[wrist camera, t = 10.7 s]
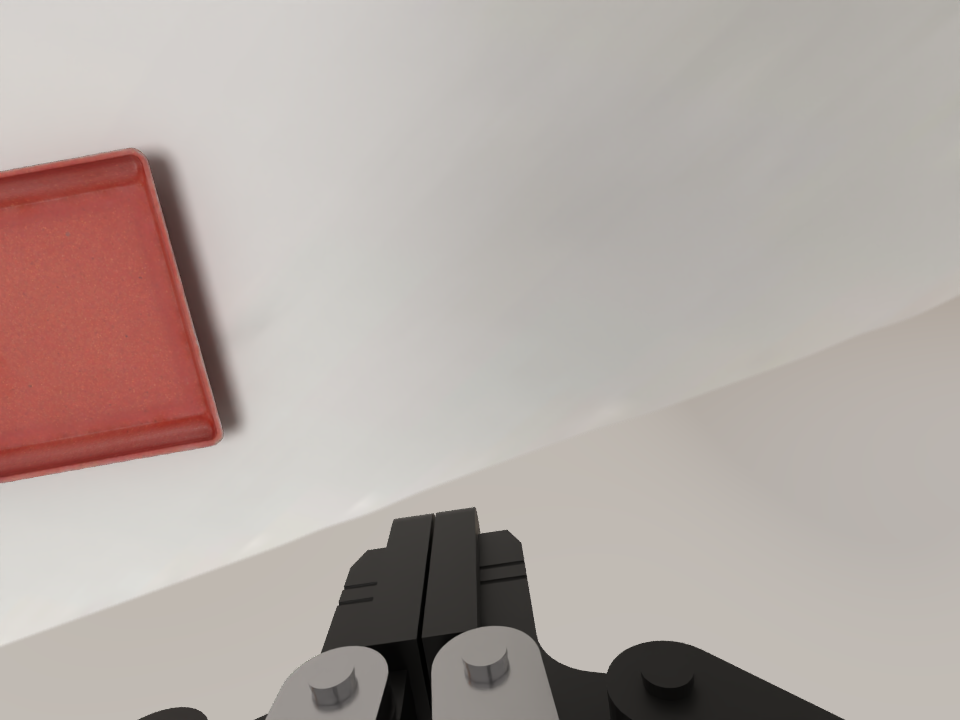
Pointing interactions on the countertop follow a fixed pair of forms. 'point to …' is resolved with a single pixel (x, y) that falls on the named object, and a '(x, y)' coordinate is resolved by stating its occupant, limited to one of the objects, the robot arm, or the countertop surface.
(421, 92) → the countertop surface
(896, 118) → the countertop surface
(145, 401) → the plant saucer
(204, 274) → the countertop surface
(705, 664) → the robot arm
